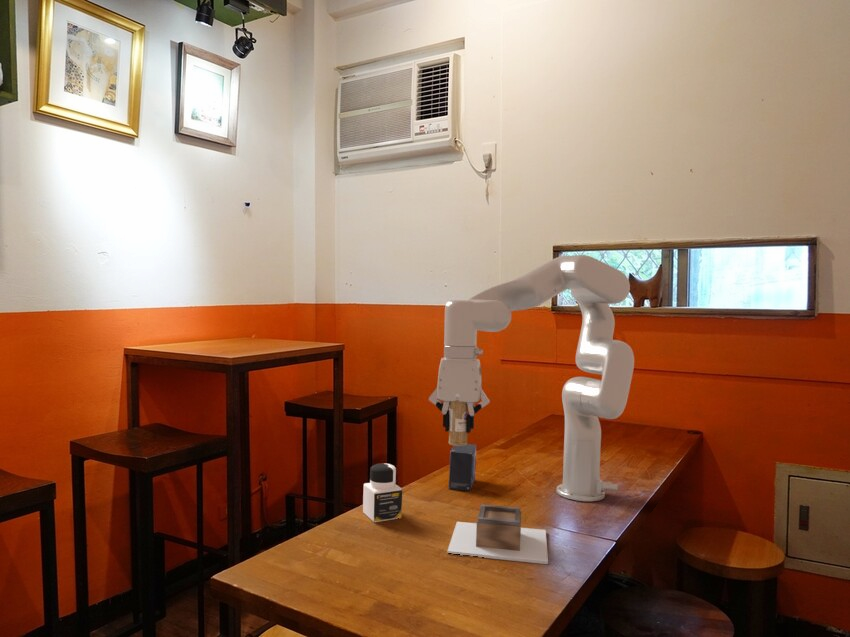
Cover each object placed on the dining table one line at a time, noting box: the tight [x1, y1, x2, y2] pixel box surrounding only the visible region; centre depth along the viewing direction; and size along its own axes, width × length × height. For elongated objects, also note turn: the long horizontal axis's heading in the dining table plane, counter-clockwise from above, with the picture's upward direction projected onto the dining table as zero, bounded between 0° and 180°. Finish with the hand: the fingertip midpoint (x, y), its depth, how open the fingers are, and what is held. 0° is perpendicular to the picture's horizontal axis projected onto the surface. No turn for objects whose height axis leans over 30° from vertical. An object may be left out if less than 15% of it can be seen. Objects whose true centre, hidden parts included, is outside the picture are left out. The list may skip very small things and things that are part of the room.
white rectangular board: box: [446, 521, 549, 565], centre depth 124 cm, size 20×16×1 cm
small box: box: [447, 443, 477, 492], centre depth 162 cm, size 11×6×10 cm, turn 168°
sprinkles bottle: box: [448, 394, 469, 447], centre depth 136 cm, size 5×5×14 cm
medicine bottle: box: [362, 462, 403, 523], centre depth 138 cm, size 7×7×12 cm
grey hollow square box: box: [476, 503, 522, 551], centre depth 124 cm, size 9×9×6 cm
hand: (458, 430), depth 136 cm, fingers closed on sprinkles bottle, 4 cm apart
